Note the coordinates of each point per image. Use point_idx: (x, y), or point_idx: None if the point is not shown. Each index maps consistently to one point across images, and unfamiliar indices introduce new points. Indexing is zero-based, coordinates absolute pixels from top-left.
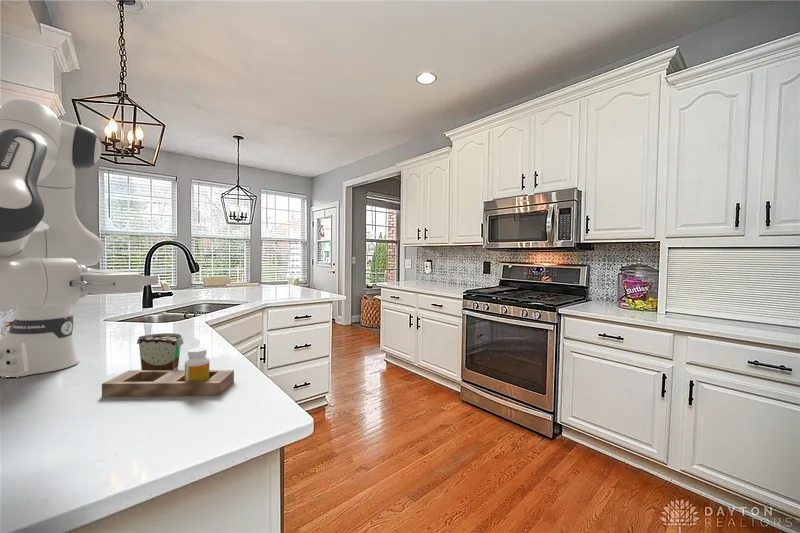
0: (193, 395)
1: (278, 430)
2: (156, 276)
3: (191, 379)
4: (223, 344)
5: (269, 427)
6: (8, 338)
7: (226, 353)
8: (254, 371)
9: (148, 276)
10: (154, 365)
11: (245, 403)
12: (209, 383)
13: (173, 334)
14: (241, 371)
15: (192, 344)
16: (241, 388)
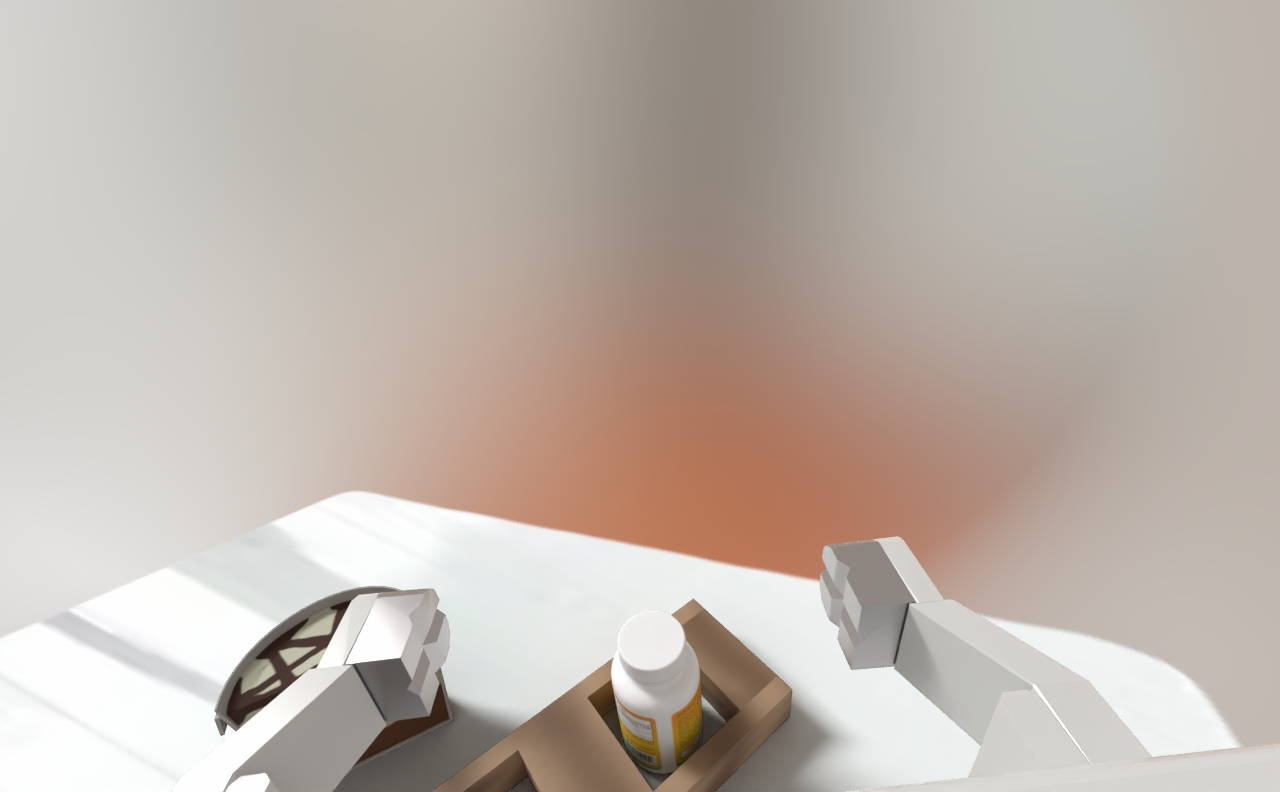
0: (728, 777)
1: (1217, 746)
2: (901, 539)
3: (686, 738)
4: (362, 494)
5: (1179, 751)
6: None
7: (442, 524)
8: (660, 551)
9: (959, 603)
10: None
11: (917, 696)
12: (768, 712)
13: (339, 596)
14: (629, 571)
15: (255, 541)
16: (774, 640)
